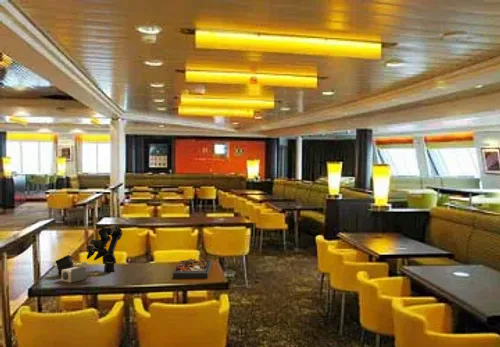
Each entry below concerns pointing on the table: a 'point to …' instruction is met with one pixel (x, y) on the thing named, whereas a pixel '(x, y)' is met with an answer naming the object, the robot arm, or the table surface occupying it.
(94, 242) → the robot arm
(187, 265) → the food platter
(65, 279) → the block
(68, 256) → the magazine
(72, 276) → the side door
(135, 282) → the table surface
